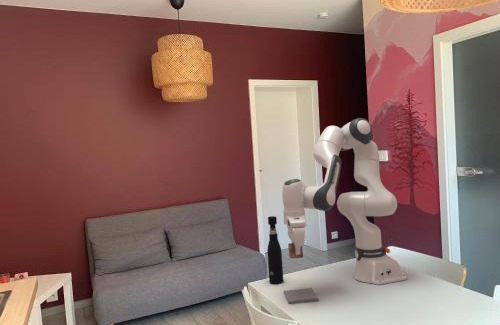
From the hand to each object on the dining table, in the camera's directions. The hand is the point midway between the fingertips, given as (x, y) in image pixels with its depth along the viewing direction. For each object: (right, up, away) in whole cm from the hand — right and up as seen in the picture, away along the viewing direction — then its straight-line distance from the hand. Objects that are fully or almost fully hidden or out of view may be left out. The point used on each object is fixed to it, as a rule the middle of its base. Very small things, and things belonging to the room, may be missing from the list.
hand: (296, 252), depth 156 cm
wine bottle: (-7, -18, +17) cm, 26 cm away
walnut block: (0, -2, 0) cm, 2 cm away
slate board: (+1, -18, -2) cm, 18 cm away
